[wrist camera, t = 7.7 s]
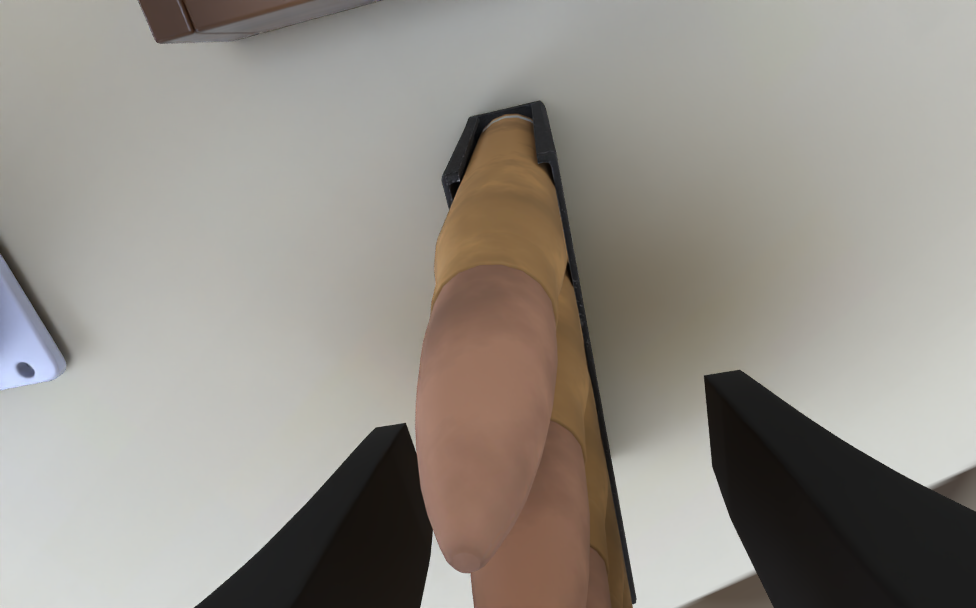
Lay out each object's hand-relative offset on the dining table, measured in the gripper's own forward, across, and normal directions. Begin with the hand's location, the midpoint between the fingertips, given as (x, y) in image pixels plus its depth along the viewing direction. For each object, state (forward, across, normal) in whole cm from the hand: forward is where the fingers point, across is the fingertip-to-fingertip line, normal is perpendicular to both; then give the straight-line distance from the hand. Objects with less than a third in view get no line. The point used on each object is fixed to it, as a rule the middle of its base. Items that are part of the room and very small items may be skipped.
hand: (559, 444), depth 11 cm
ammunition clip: (+6, 0, 0) cm, 6 cm away
